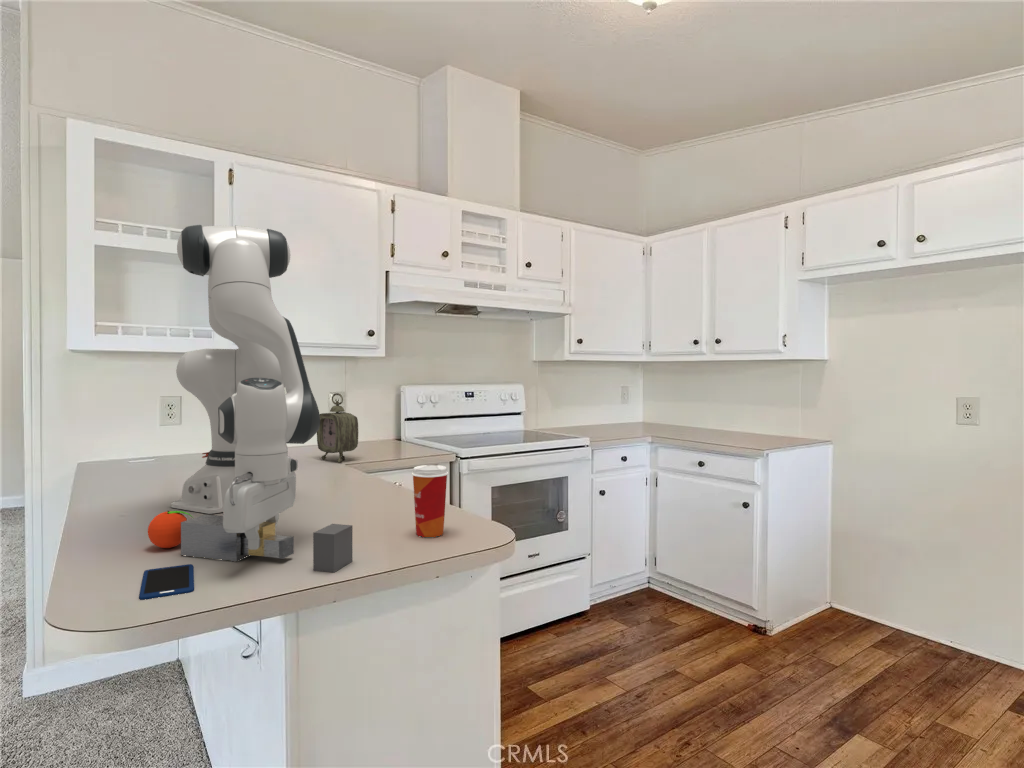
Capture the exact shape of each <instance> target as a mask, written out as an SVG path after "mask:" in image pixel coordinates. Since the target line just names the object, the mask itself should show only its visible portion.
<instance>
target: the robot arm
mask: <svg viewBox="0 0 1024 768" xmlns="http://www.w3.org/2000/svg"><path fill="white" fill-rule="evenodd" d="M289 245H290V244H288V241H287V238H286V236H285V235H284V234H283V233H282V232H280V231H278V230H273V229H271V228H270V229H269V228H267V229H263V228H258V227H252V226H243V225H234V226H233V225H204V226H202V224H195V225H188V226H185V228H184V229H182V230H181V233H180V235H179V236H178V240H177V244H176V253H177V256H178V258H179V261H180V263H181V265H182V268H183V269H184V270H185V271H187V272H188V273H189V274H191V275H195V276H200V277H204V276H208V277H207V278H208V280H207V282H208V283H207V299H208V320H209V321H208V323H209V326H210V329H212V331H213V332H214V333H216V334H217V335H218V336H219V337H221V338H224V339H226V340H228V341H230V342H232V343H233V344H235V345H236V346H237V348H202V349H195V350H190V351H186V352H185V353H183V354H182V356H181V357H180V358H179V360H178V362H177V364H176V368H175V369H176V370H175V371H176V373H175V374H176V378H177V380H178V382H179V384H180V385H181V386H182V387H183V389H185V390H186V391H187V392H189V394H192V395H193V396H194V397H195V398H196V399H197V400H199V402H200V403H201V404H202V405H203V407H204V409H205V411H206V413H207V414H208V415H207V416H208V419H209V426H210V434H211V435H210V436H211V437H210V438H211V449H210V450H209V451H208V452H203V453H201V455H203V456H202V457H201V458H203V459H204V458H206V460H205V465H203V466H202V467H201V468H200V469H198V471H196V472H195V473H194V474H193V475H191V476H190V477H188V478H187V479H186V480H185V481H184V483H183V485H182V491H181V498H179V499H176V500H174V501H173V502H171V503H170V508H172V509H178V510H185V511H189V512H190V511H191V512H196V513H203V514H206V515H214V514H219V513H223V515H222V516H223V528H224V530H225V531H226V532H228V533H245V535H246V537H247V539H248V548H249V549H251V550H256V549H258V548H259V547H261V545H262V543H261V542H262V537H259V534H258V530H259V524H261V523H263V522H274V523H275V530H276V529H277V526H278V523H279V519H280V518H279V516H280V514H281V513H283V512H285V511H287V510H288V509H290V508H293V506H294V504H295V501H296V495H297V494H296V493H297V474H296V471H298V468H299V461H298V459H296V458H294V457H291V456H289V451H288V445H287V444H290V445H291V444H295V445H296V444H297V445H298V444H300V445H304V444H306V443H307V442H308V441H310V440H311V439H312V438H313V437H314V436H315V435H317V431H318V430H319V427H320V414H321V413H320V411H319V407H318V404H317V401H316V398H315V395H314V394H313V390H312V389H311V385H310V381H309V378H308V375H307V371H306V370H307V369H306V367H305V363H304V359H303V356H302V355H303V354H302V353H301V349H300V346H299V342H298V338H297V335H296V332H295V329H294V327H293V325H292V323H291V321H290V320H289V319H288V318H286V317H284V316H283V315H282V314H281V312H280V311H279V310H278V308H277V306H276V304H275V302H274V300H273V297H272V288H271V280H270V279H272V278H276V277H280V276H282V275H283V274H285V273H286V272H287V270H288V266H289V265H290V262H291V261H290V260H291V249H290V246H289ZM234 394H235V395H234ZM233 395H234V396H233Z"/></svg>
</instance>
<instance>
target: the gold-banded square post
mask: <svg viewBox="0 0 1024 768" xmlns="http://www.w3.org/2000/svg"><path fill="white" fill-rule="evenodd" d="M258 534H259V537H262V542H261V543H262V545H261V547H259V548H258V549H256V550H251V549H249V548H248V539H247V537H246V535H245V533H240V538H241V554H246V555H251V556H256V557H267V558H275V559H286V558H287V557H290V556H291V555H294V553H295V550H294V549H295V543H294V542H295V539H294V536H292V535H289V536H288V535H287V536H286V535H278V534H276V529H275V523H274V522H266V521H265V522H263V523H261V524H259V530H258Z"/></svg>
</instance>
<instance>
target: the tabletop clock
mask: <svg viewBox="0 0 1024 768" xmlns="http://www.w3.org/2000/svg"><path fill="white" fill-rule="evenodd" d="M335 396H339V397H340V398H341V401H339V400H336V401H334V397H335ZM331 401H332V403H333V404H334V406H332V407H331V408H330V410H329V412H325V413H324V412H323V413H319V414H320V427H319V430H318V431H317V433H316V442H317V448H318V450H319V451H321V452H323V453H325V454H323V455H322V456H321V460H323V461H324V460H326V459H327V456H328V454H337V453H338V454H339V456H338V457H339V458H338V459H337V463H338V464H341V463H343V461H345V459H346V457H345V455H344V454H343V453H347V452H352V451H354V450H355V449H356V448H358V444H359V420H358V417H357V416H356V415H354V414H352V413H350V412H345V409H344V407H343V406H342V404H343V402H344V397H343V395H342V394H341V393H338V392H337V393H336V392H335V393H334V394H333V395H332V396H331Z"/></svg>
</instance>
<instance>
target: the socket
mask: <svg viewBox="0 0 1024 768" xmlns="http://www.w3.org/2000/svg"><path fill="white" fill-rule="evenodd" d="M312 535H313V536H312V537H313V539H312V540H313V541H312V542H313V543H312V544H313V547H312V549H313V550H312V553H313V554H312V555H313V556H312V557H313V559H312V561H313V562H312V563H313V564H312V567H313V568H312V569H313V570H312V571H315V572H316V571H319V572H326V573H336V572H337V571H339V570H340V569H342V568H344V567H345V566H347V565H349V564H350V563H352V562H353V525H352V524H342V523H331V524H328V525H327V526H325V527H322V528H320V529H318V530H315V531H314V532H313V533H312Z"/></svg>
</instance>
